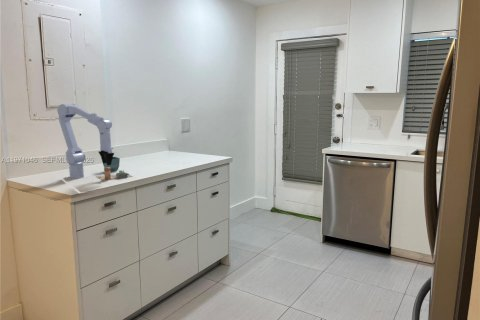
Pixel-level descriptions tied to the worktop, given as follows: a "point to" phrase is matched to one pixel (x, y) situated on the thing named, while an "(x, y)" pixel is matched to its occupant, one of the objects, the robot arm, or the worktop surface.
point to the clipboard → (111, 177)
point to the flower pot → (113, 164)
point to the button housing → (121, 175)
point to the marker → (107, 173)
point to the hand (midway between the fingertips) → (106, 164)
